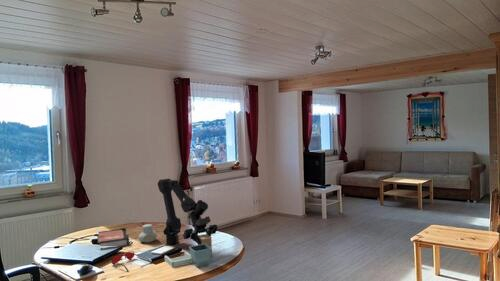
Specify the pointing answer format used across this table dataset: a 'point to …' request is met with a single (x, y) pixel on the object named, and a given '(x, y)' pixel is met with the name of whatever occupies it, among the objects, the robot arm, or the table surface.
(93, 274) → the table surface
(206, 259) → the flower pot
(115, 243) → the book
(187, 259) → the bay
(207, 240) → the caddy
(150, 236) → the air freshener
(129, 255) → the glasses
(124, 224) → the table surface
